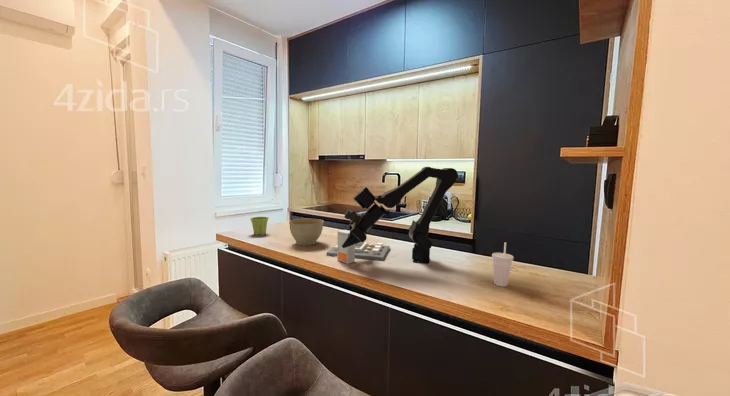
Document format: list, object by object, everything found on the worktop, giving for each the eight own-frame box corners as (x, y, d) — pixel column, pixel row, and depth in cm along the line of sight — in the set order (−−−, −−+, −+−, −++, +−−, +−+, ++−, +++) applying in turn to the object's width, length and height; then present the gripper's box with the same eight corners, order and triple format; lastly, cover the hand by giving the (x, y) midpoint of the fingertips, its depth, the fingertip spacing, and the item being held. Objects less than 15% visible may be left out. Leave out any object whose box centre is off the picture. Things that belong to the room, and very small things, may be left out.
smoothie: (510, 289, 93) (513, 245, 91) (488, 285, 96) (491, 242, 94) (512, 283, 98) (515, 241, 96) (491, 279, 101) (494, 238, 100)
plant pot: (258, 236, 155) (257, 220, 154) (246, 234, 160) (246, 218, 159) (272, 233, 163) (272, 217, 162) (261, 231, 168) (261, 216, 167)
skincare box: (336, 260, 118) (336, 230, 117) (344, 258, 121) (344, 229, 120) (347, 264, 114) (347, 233, 113) (355, 261, 117) (355, 231, 116)
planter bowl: (327, 246, 139) (327, 223, 138) (291, 249, 133) (291, 225, 132) (319, 238, 154) (319, 217, 153) (287, 240, 148) (287, 218, 147)
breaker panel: (389, 248, 137) (389, 242, 137) (383, 260, 120) (383, 253, 119) (339, 244, 142) (339, 238, 142) (326, 255, 125) (326, 248, 124)
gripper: (355, 199, 125) (329, 225, 125) (357, 205, 106) (326, 235, 107) (374, 218, 126) (347, 244, 127) (379, 227, 108) (348, 257, 108)
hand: (342, 244), depth 117 cm, fingers closed on skincare box, 7 cm apart
